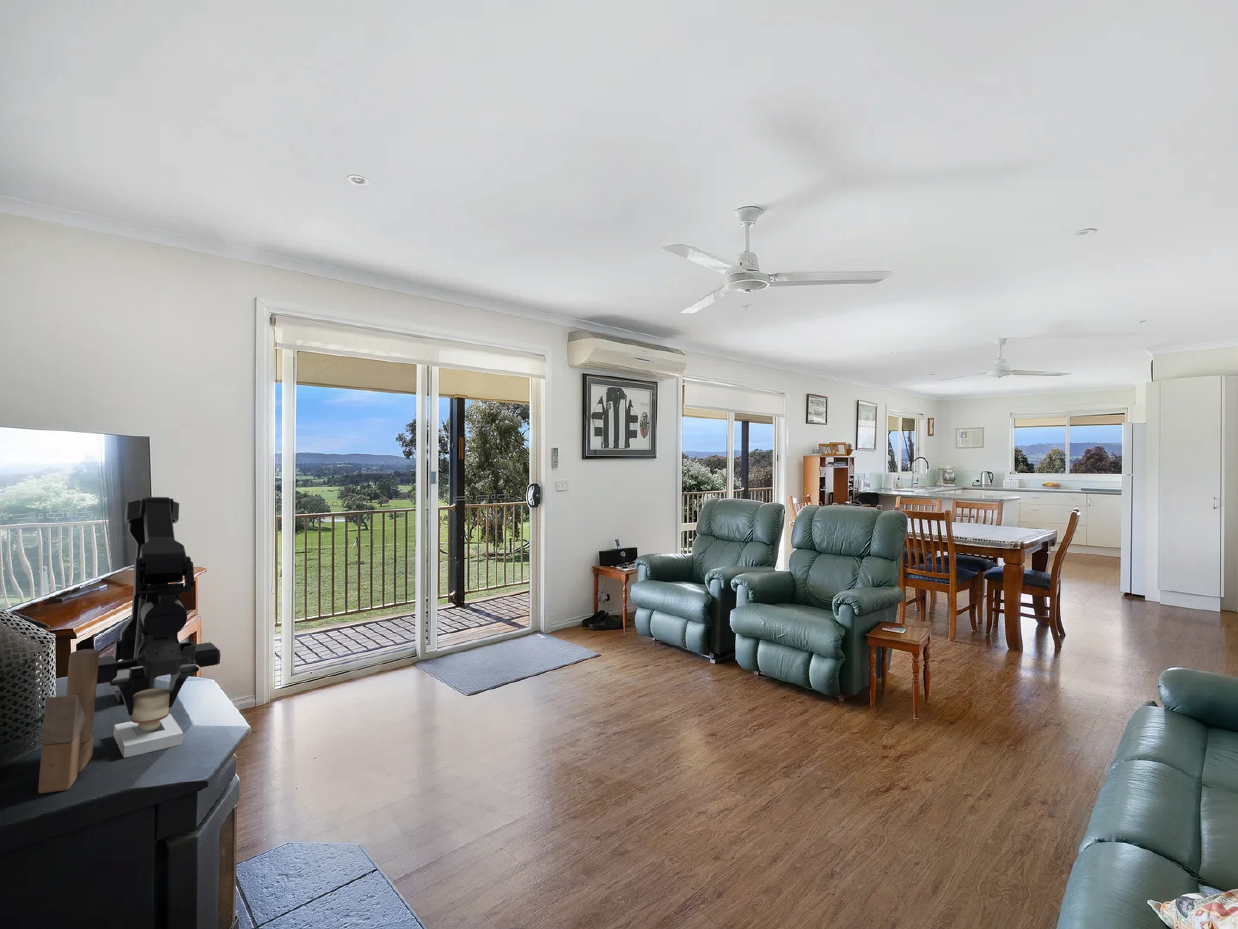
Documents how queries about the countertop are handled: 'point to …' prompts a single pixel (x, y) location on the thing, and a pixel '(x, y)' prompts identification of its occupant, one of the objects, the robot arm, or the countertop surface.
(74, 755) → the wooden block
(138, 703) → the peg
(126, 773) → the countertop surface
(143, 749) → the board
